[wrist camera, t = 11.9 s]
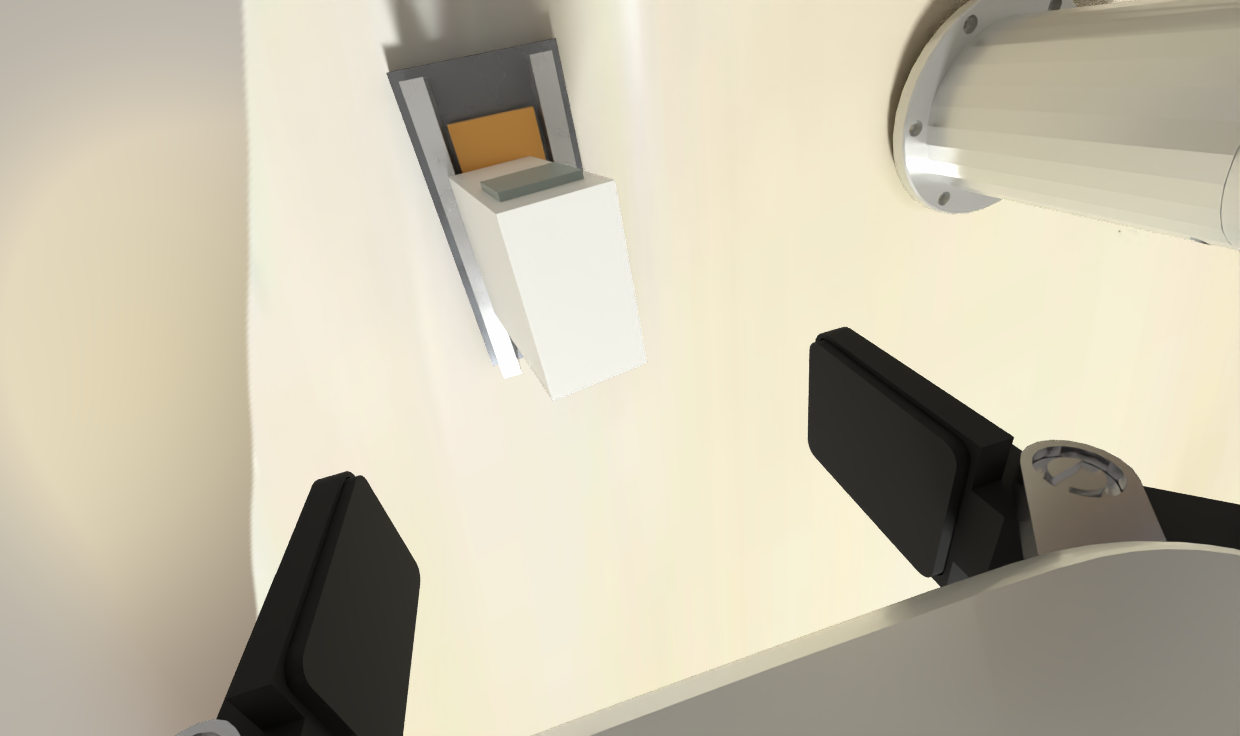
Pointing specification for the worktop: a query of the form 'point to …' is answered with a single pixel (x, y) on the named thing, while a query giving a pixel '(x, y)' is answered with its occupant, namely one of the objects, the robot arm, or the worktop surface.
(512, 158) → the orange rectangular panel
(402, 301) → the worktop surface
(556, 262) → the block
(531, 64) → the rail
